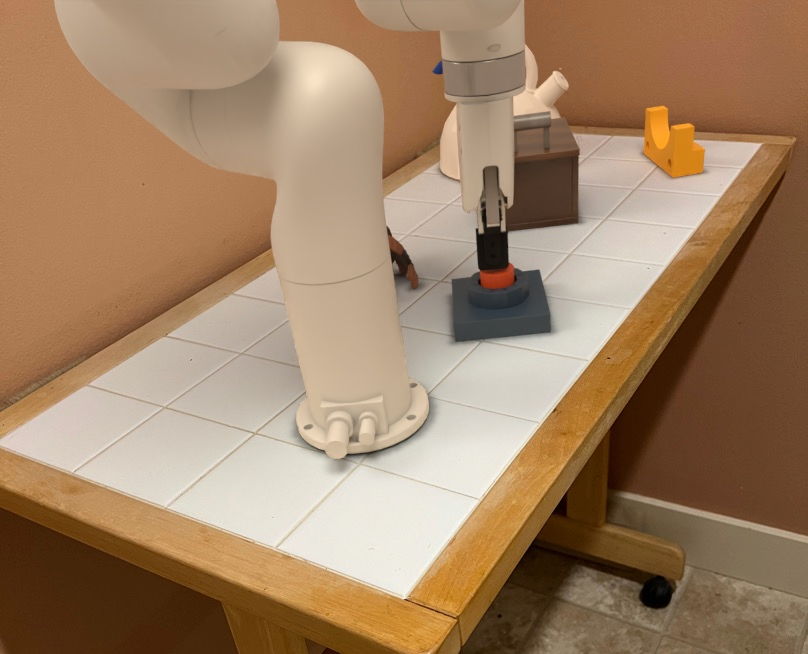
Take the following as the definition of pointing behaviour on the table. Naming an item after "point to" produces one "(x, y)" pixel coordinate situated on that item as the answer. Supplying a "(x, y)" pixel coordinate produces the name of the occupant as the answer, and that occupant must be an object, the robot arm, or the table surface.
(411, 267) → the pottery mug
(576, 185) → the lidded box
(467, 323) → the control block
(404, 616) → the table surface
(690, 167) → the pipe clamp
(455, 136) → the kettle
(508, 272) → the button
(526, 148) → the box lid
